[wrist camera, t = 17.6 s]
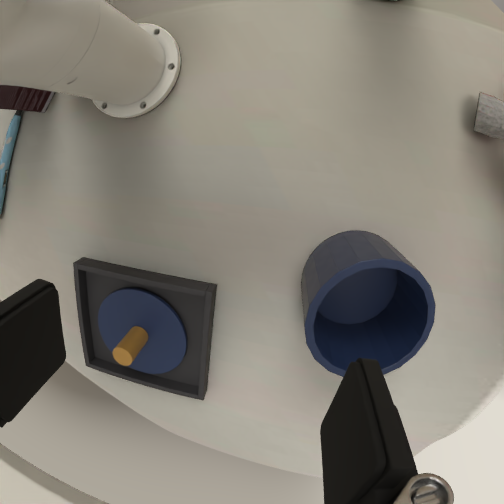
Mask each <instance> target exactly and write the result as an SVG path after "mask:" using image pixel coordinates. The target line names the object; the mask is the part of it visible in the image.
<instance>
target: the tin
mask: <svg viewBox="0 0 504 504" xmlns="http://www.w3.org/2000/svg"><path fill="white" fill-rule="evenodd" d="M301 289H302V301H303V314H304V327H305V335H306V344H307V346H308V348H309V349H310V351H311V353H312V355H313V357H314V359H315V360H316V361H317V362H319V363H320V364H321V365H322V366H323V367H324V368H325V369H327V370H328V371H330V372H332V373H335V374H337V375H340V376H342V377H344V375H345V373H346V371H347V368H348V366H349V364H350V363H351V362H356V360H357V359H358V358H366V359H374V360H377V361H378V362H379V365H380V367H381V370H382V373H383V375H384V374H386V373H389V372H391V371H393V370H395V369H397V368H399V367H401V366H402V365H403V364H405V363H406V362H407V361H408V360H410V359H411V358H412V357H413V356H414V355H416V353H417V352H418V351H419V350H420V348H421V347H422V346H423V344H424V343H425V342H426V340H427V338H428V336H429V333H430V331H431V328H432V326H433V323H434V315H435V301H434V297H433V293H432V290H431V287H430V285H429V283H428V282H427V281H426V279H425V278H424V277H423V275H422V274H421V273H420V272H419V271H418V270H417V269H416V268H415V267H414V266H413V265H412V264H411V263H410V262H409V261H408V260H407V259H406V258H405V257H404V256H403V255H402V254H401V253H400V252H398V251H397V250H396V249H395V248H394V247H393V246H392V245H391V244H390V243H389V242H388V241H386V240H384V239H383V238H381V237H380V236H378V235H376V234H373V233H370V232H366V231H347V232H342V233H339V234H336V235H334V236H332V237H330V238H328V239H327V240H325V241H324V242H323V243H321V244H320V245H319V246H318V247H317V248H316V249H315V250H314V251H313V253H312V254H311V255H310V257H309V259H308V260H307V262H306V265H305V267H304V270H303V274H302V281H301Z"/></svg>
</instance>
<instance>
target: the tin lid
mask: <svg viewBox="0 0 504 504" xmlns="http://www.w3.org/2000/svg"><path fill="white" fill-rule="evenodd" d="M98 326H99V330H100V334H101V336H102V339H103V340H104V342H105V344H106V346H107V347H108V349H109V350H110V351H111V352H112V353H113V357H114V359H115V360H116V361H117V362H118V363H119V364H121V365H124V366H129V367H131V368H133V369H135V370H137V371H140V372H144V373H149V374H161V373H165V372H168V371H171V370H173V369H174V368H176V367H177V366H178V365H179V364H180V363H181V361H182V360H183V358H184V356H185V353H186V350H187V335H186V331H185V328H184V325H183V323H182V321H181V319H180V318H179V316H178V315H177V313H176V312H175V311H174V310H173V309H172V307H171V306H170V305H169V304H167V303H166V302H165V301H164V300H163V299H161V298H160V297H158V296H156V295H155V294H153V293H151V292H148V291H146V290H142V289H138V288H122V289H119V290H116V291H114V292H112V293H111V294H110V295H108V296H107V297H106V298H105V299H104V301H103V302H102V304H101V306H100V309H99V312H98Z"/></svg>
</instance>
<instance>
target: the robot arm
mask: <svg viewBox="0 0 504 504" xmlns="http://www.w3.org/2000/svg"><path fill="white" fill-rule="evenodd" d="M180 66H181V56H180V50H179V47H178V45H177V42H176V41H175V39H174V38H173V37H172V35H171V34H170V33H168V32H167V31H166V30H165V29H163V28H162V27H160V26H157V25H154V24H148V23H140V24H136V23H135V22H134V21H132V20H131V19H130V18H128V17H127V16H125V15H124V14H123V13H121V12H120V11H119V10H117V9H116V8H114V7H113V6H112V5H110V4H109V3H107V2H106V1H104V0H0V85H11V86H21V87H28V88H34V89H40V90H47V91H52V92H58V93H64V94H69V95H74V96H79V97H84V98H89V99H92V101H93V103H94V104H95V105H96V107H97V108H98V109H99V110H100V111H102V112H103V113H105V114H107V115H110V116H113V117H117V118H132V117H137V116H140V115H142V114H145V113H147V112H149V111H150V110H152V109H154V108H155V107H156V106H158V105H159V104H160V103H161V102H162V101H163V100H164V99H165V98H166V97H167V95H168V94H169V93H170V91H171V90H172V88H173V87H174V85H175V83H176V80H177V78H178V75H179V71H180ZM173 67H174V69H173V70H172V68H173ZM145 105H146V107H145ZM65 359H66V351H65V345H64V338H63V331H62V324H61V316H60V307H59V296H58V291H57V290H56V288H55V286H54V284H53V283H50V282H48V281H45V280H42V279H37V280H35V281H34V282H32V283H30V284H29V285H27V286H26V287H24V288H22V289H21V290H19V291H18V292H16V293H14V294H13V295H11V296H10V297H8V298H7V299H5V300H4V301H2V302H0V427H3V426H4V425H5V424H6V423H7V422H10V421H12V420H13V419H14V417H15V416H16V415H17V414H18V413H19V412H20V411H21V409H22V408H23V407H24V406H25V405H26V404H27V403H28V402H29V400H30V399H31V398H32V397H33V396H34V395H35V394H36V393H37V392H38V390H39V389H40V388H41V387H42V386H43V385H44V384H45V383H46V382H47V380H48V379H49V378H50V377H51V376H52V375H53V374H54V373H55V372H56V371H57V370H58V369H59V367H60V366H61V365H62V364H63V363H64V361H65ZM320 434H321V449H322V465H323V482H324V504H453V502H454V495H453V491H452V489H451V487H450V485H449V484H448V483H447V482H446V481H445V480H444V479H443V478H441V477H440V476H437V475H434V474H430V473H423V474H418V473H417V470H416V465H415V462H414V459H413V455H412V452H411V449H410V446H409V443H408V440H407V436H406V433H405V430H404V427H403V424H402V421H401V418H400V415H399V413H398V410H397V408H396V406H395V405H394V404H393V401H392V398H391V395H390V392H389V389H388V387H387V384H386V381H385V378H384V376H383V373H382V370H381V367H380V365H379V362H378V361H377V360H374V359H366V358H358V359H357V360H356V362H351V363H350V364H349V366H348V368H347V371H346V373H345V375H344V377H343V380H342V382H341V384H340V386H339V388H338V391H337V393H336V395H335V397H334V399H333V401H332V403H331V405H330V407H329V409H328V411H327V413H326V416H325V418H324V420H323V422H322V425H321V430H320ZM0 504H108V503H106V502H103V501H101V500H99V499H97V498H94V497H92V496H90V495H88V494H86V493H84V492H81V491H79V490H78V489H75V488H73V487H71V486H70V485H68V484H66V483H64V482H62V481H60V480H58V479H56V478H54V477H53V476H51V475H49V474H47V473H46V472H44V471H42V470H41V469H39V468H37V467H36V466H34V465H32V464H30V463H29V462H27V461H26V460H24V459H22V458H21V457H20V456H18V455H17V454H15V453H14V452H12V451H11V450H9V449H8V448H6V447H5V446H3V445H2V444H1V443H0Z"/></svg>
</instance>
